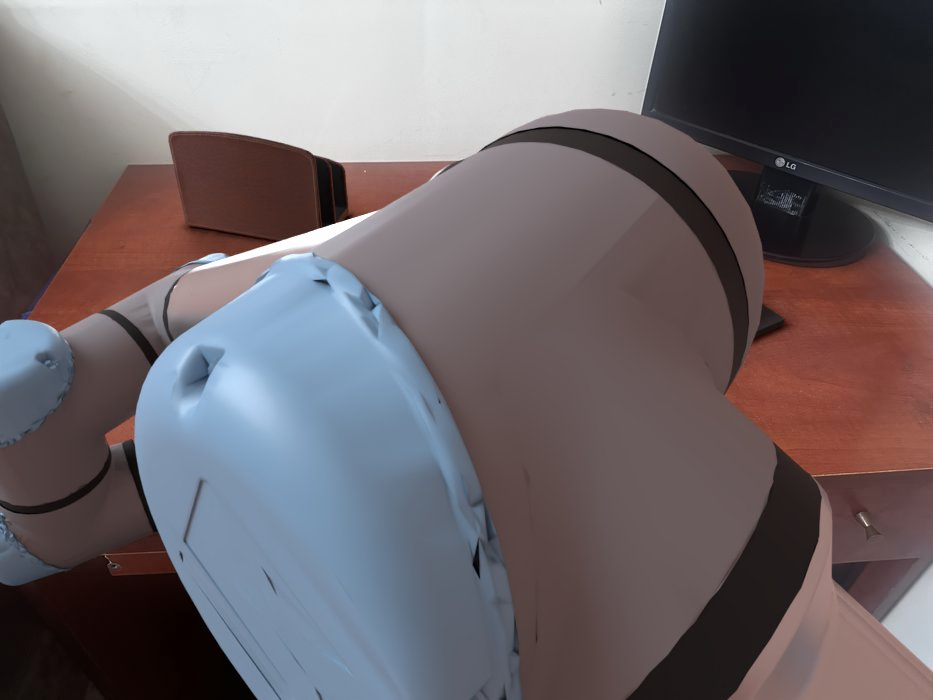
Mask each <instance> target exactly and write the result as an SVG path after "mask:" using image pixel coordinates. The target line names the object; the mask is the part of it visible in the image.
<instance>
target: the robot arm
mask: <svg viewBox="0 0 933 700" xmlns="http://www.w3.org/2000/svg"><path fill="white" fill-rule="evenodd" d="M554 114H555V115H551V116H547V117H543V116H541V117H542V118H540V117H538V118H536V119H534V120H531V121H529V122H527V123H525V124H522V125H520V126H517V127H516V128H514V129H512V130H510V131H508V132H507V133H505V134H504V135H501V136H500V137H498V138H497V139H495V140H493V141H492V142H490V143H488V144H486V145H485V146H484V147H482V148H480V150H479V151H477V152H476V153H473V154H472V155H470V156H468V157H465V158H463V159H460V160H457V161H455V162H452V163H450V164H448V165H445V166H444V167H443V168H441V169H439V171H437V172H436V173H435V174H434V175H433V176H432V177H430V179H429V180H428V181H426V182H425V183H423V184H421V185H420V186H418V187H416V188H414V189H413V190H411V191H410V192H408V193H406V194H404V195H403V196H401V197H399V198H397V199H396V200H394V201H392V202H390V203H389V204H387V205H386V206H383V207H382V208H379V209H378V210H375V211H372V212H368V213H366V214H363V215H359V216H356V217H353V218H350V219H346V220H343V222H340V223H337V224H333V225H330V226H327V227H324V228H321V229H318V230H314V231H311V232H308V233H305V234H302V235H298V236H295V237H292V238H289V239H286V240H282V241H276V242H273V243H270V244H267V245H264V246H260V247H257V248H254V249H251V250H248V251H244V252H241V253H239V254H234V255H232V256H229V255H228V254H227V253H223V252H217V253H216V252H215V253H211V254H208V255H205V256H204V257H202V258H199V259H195V260H193V261H190V262H187V263H185V264H184V265H181V266H179V267H177V268H176V269H173V271H172V272H171V273H170V274H168V275H166V276H164V277H161V278H160V279H159V280H156V281H155V282H153V283H151V284H148V285H147V286H145V287H144V288H142V289H140V290H138V291H136V292H134V293H132V294H130V295H129V296H127V297H125V298H123V299H122V300H120V301H118V302H115V304H112V305H111V306H109V307H107V308H104V309H101V310H100V311H98V312H96V313H93V314H91V315H89V316H87V317H85V318H83V319H81V320H79V321H77V322H75V323H74V324H72V325H70V326H68V327H66V328H64V329H63V330H60V331H58V330H56V329H55V327H53V326H51V325H49V324H47V323H45V322H41V321H37V320H34V319H33V320H32V319H9V320H5V321H3V322H2V323H1V324H0V583H1V584H3V585H6V586H11V587H13V586H14V587H15V586H17V587H18V586H21V585H24V584H28V583H30V582H33V581H37V580H39V579H43V578H45V577H49V576H53V575H55V574H57V573H61V572H68V571H71V570H72V569H75V568H76V567H77V566H78V565H81V564H83V563H85V562H88V561H90V560H94V559H96V558H98V557H100V556H103V555H106V554H107V553H110V552H113V551H115V550H117V549H120V548H122V547H125V546H127V545H130V544H133V543H134V542H137V541H139V540H142V539H144V538H147V537H149V536H151V535H155V533H158V534H159V536H160V539H161V541H162V543H163V546H164V547H165V550H166V553H167V555H168V558H169V559H170V561H171V563H172V565H173V567H174V569H175V571H176V573H177V575H178V577H179V579H180V581H181V583H182V585H183V587H184V589H185V591H186V592H187V594H188V595H189V597H190V599H191V601H192V602H193V604H194V606H195V607H196V610H197V611H198V613H199V614H200V616H201V618H202V620H203V622H204V623H205V625H206V626H207V629H208V630H209V631H210V633H211V634H212V636H213V637H214V639H215V640H216V642H217V643H218V645H219V647H220V649H221V650H222V652H223V653H224V654H225V656H226V657H227V659H228V660H229V662H230V663H231V664H232V666H233V667H234V669H235V670H236V671H237V673H238V675H240V677H241V679H242V680H243V681H244V683H245V684H246V685H247V687H248V688H249V689H250V691H251V692H252V694H253V696H254V697H255V698H256V699H257V700H933V670H932V669H931V668H929V666H927V665H926V664H925V663H924V662H923V661H922V660H921V659H920V658H919V657H917V655H916V654H914V653H913V651H911V649H909V648H908V647H907V646H906V645H905V644H904V643H902V642H901V641H900V639H899V638H897V637H896V636H895V635H894V634H893V633H892V632H891V631H890V630H889V629H887V628H886V627H885V626H884V625H883V624H882V623H881V622H880V621H879V620H878V619H877V618H876V617H874V615H873V614H872V613H870V612H869V611H868V610H867V609H866V608H865V607H864V606H862V604H860V603H859V602H858V601H857V600H856V599H855V598H854V597H853V596H852V595H851V594H849V593H848V591H846V590H845V589H844V588H843V587H842V586H841V585H840V584H839V583H837V582H836V580H834V578H833V574H832V573H833V571H832V569H833V510H832V509H833V508H832V505H831V502H830V499H829V496H828V494H827V492H826V490H825V489H824V488H823V487H822V485H821V484H820V483H819V482H818V481H817V479H815V477H813V476H812V474H811V473H809V472H808V471H806V470H805V469H804V468H803V467H802V466H801V465H800V464H798V463H797V462H796V461H795V460H794V459H793V458H792V457H791V456H790V455H788V454H787V453H786V452H785V451H784V450H783V449H782V448H781V447H780V446H778V445H777V444H776V442H775V441H773V440H772V439H771V437H770V436H769V435H768V434H767V433H766V432H765V431H764V430H763V429H762V428H760V427H759V426H758V425H757V424H756V423H755V422H754V421H753V420H751V418H749V416H747V415H746V414H745V413H743V412H742V410H740V409H739V408H738V407H737V406H736V405H735V404H734V403H733V402H732V401H731V400H729V399H728V398H727V397H726V393H727V392H728V390H729V389H730V387H731V385H732V384H733V382H734V381H735V379H736V378H737V376H738V375H739V373H740V371H741V369H742V367H743V366H744V363H745V361H746V359H747V357H748V354H749V352H750V350H751V347H752V344H753V343H754V340H755V338H756V337H755V334H756V331H757V329H758V326H759V324H760V317H761V309H762V304H763V301H764V300H763V299H764V293H765V283H766V273H765V265H764V253H763V244H762V241H761V238H760V233H759V231H758V228H757V225H756V222H755V218H754V215H753V213H752V210H751V207H750V205H749V204H748V202H747V200H746V199H745V197H744V195H743V194H742V192H741V191H740V189H739V187H738V186H737V184H736V183H735V181H734V180H733V178H732V176H731V175H730V174H729V171H728V170H727V168H725V167H724V165H723V164H722V163H721V162H720V161H719V160H718V159H717V158H716V157H715V156H714V155H713V154H711V153H710V152H709V151H707V149H705V148H704V147H703V146H702V145H701V144H700V143H698V142H697V141H696V140H695V139H693V137H691V136H689V134H686V133H685V132H683V131H681V130H679V129H676V128H675V127H673V126H671V125H669V124H667V123H665V122H663V121H662V120H659V119H656V118H653V117H650V116H646V115H642V114H639V113H636V112H632V111H629V110H624V109H623V110H622V109H612V108H579V109H578V108H577V109H572V110H568V111H563V112H559V113H554ZM754 337H755V338H754ZM134 416H135V417H134ZM133 417H134V437H133V438H130V439H127V440H124V441H121V442H118V443H115V444H112V445H109V443H108V440H107V438H106V435H107V434H108V433H110V432H111V431H113V430H114V429H116V428H118V427H119V426H121V425H122V424H123V423H126V421H128V420H130V419H131V418H133Z"/></svg>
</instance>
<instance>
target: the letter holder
mask: <svg viewBox="0 0 933 700" xmlns="http://www.w3.org/2000/svg"><path fill="white" fill-rule="evenodd" d="M167 139H168V140H167V141H168V144H169V150H170V156H171V160H172V164H173V169H174V174H175V179H176V184H177V188H178V192H179V198H180V203H181V208H182V213H183V217H184V222H185V224H186V226H187V227H191V228H192V227H193V228H199V229H206V230H211V231H219V232H223V233H229V234H235V235H242V236H247V237H252V238H257V239H263V240H267V241H268V240H269V241H276V242H279V241H282V240H286V239H289V238H292V237H295V236H298V235H302V234H305V233H308V232H311V231H314V230H318V229H321V228H324V227H327V226H330V225H333V224H337V223H340V222H343V221H345V219H346V218H347V216H348V215H349V210H350V209H349V196H348V187H347V173H346V170H345V167H344V166H343V164H341V163H340V162H338V161H336V160H333V159H330V158H328V157H324V156H320V155H316V154H313V153H312V152H311V151H310V150H307V149H304V148H302V147H298V146H295V145H291V144H288V143H285V142H280V141H277V140H271V139H267V138H262V137H257V136H253V135H246V134H241V133H234V132H228V131H227V132H225V131H210V130H175V131H172V132H170V133H169V134H168V138H167Z"/></svg>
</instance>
